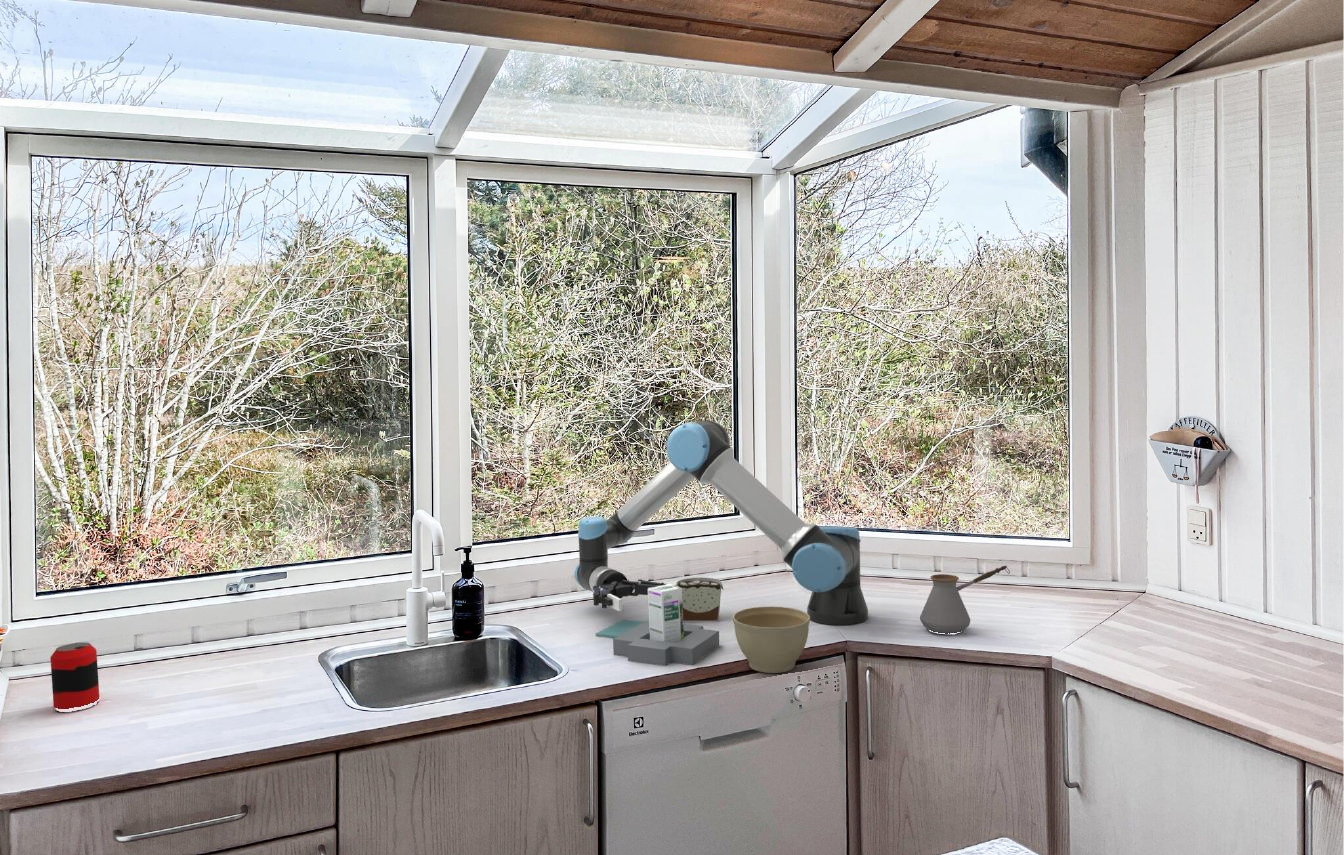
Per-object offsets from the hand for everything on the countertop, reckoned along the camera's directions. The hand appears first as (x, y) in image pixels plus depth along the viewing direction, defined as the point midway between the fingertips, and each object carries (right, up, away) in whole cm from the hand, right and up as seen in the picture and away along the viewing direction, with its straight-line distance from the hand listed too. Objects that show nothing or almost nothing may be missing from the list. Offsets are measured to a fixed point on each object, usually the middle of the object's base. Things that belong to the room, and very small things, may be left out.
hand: (646, 601), depth 210 cm
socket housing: (+5, -9, -8) cm, 13 cm away
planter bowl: (+27, -10, -22) cm, 36 cm away
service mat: (-4, -9, +8) cm, 12 cm away
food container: (+13, -8, +18) cm, 24 cm away
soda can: (-112, -14, -33) cm, 118 cm away
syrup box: (+5, -10, -8) cm, 14 cm away
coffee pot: (+76, -7, +1) cm, 76 cm away
